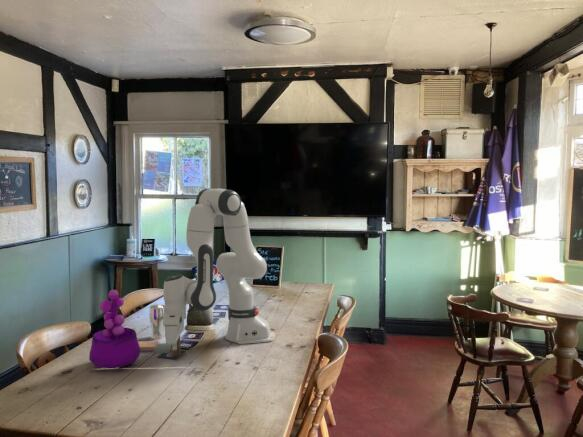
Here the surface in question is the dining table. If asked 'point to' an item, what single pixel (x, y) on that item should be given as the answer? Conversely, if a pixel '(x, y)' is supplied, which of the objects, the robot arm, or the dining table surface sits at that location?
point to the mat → (159, 349)
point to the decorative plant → (114, 338)
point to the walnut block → (178, 351)
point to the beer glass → (157, 321)
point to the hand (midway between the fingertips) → (176, 347)
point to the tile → (148, 345)
